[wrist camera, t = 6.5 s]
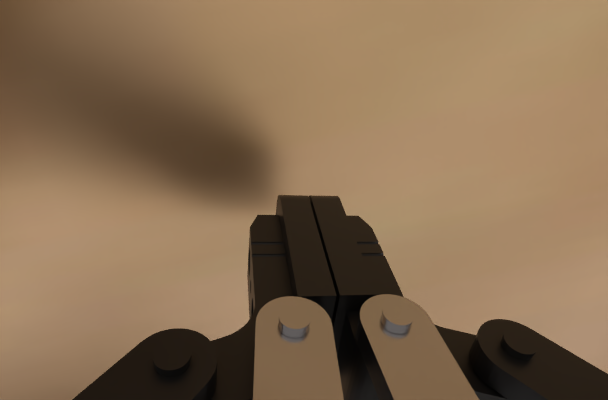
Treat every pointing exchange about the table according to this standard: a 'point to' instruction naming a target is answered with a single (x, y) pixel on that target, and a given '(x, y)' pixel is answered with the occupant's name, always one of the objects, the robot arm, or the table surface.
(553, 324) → the table surface
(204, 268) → the table surface
